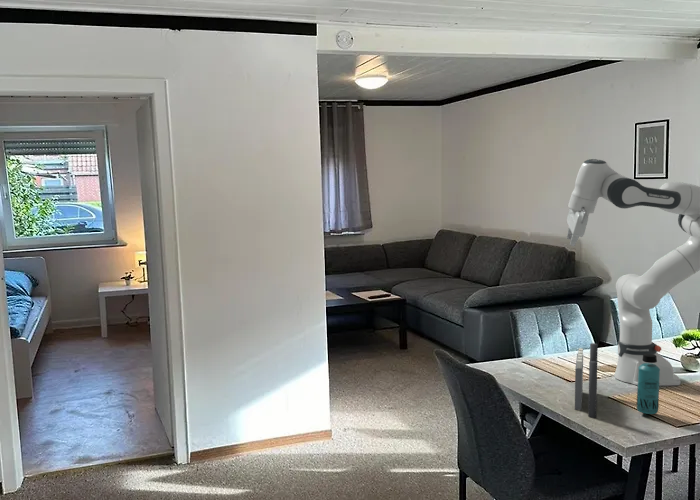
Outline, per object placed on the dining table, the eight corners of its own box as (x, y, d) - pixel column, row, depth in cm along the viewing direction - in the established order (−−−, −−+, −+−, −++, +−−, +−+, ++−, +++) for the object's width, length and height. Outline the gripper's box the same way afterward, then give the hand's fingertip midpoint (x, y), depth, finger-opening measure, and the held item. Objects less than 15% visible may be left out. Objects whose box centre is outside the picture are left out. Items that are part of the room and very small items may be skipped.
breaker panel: (582, 392, 223) (583, 347, 221) (581, 410, 207) (582, 362, 205) (576, 391, 224) (577, 347, 222) (574, 409, 207) (575, 361, 205)
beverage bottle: (632, 411, 204) (633, 352, 202) (651, 410, 205) (653, 351, 202) (643, 419, 198) (645, 358, 195) (663, 418, 198) (665, 356, 196)
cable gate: (596, 392, 222) (597, 343, 220) (596, 418, 200) (597, 363, 197) (589, 392, 223) (590, 343, 221) (588, 417, 200) (589, 362, 198)
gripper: (595, 213, 208) (583, 252, 212) (587, 201, 227) (576, 237, 231) (576, 208, 209) (564, 247, 213) (569, 197, 228) (558, 233, 232)
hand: (570, 242), depth 222 cm, fingers open, 8 cm apart
